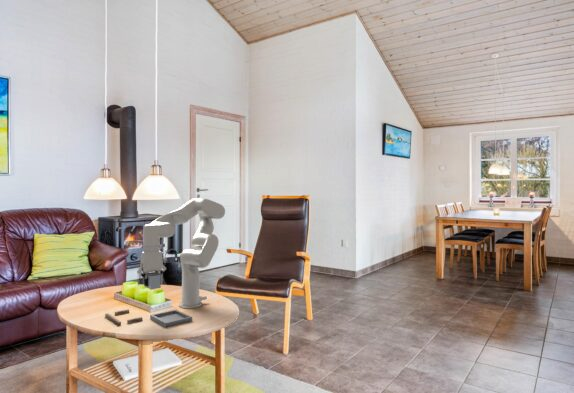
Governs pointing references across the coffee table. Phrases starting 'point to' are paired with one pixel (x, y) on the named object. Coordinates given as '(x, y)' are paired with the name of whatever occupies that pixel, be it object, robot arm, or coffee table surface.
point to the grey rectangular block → (154, 280)
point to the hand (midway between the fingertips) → (152, 284)
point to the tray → (170, 318)
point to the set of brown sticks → (119, 314)
